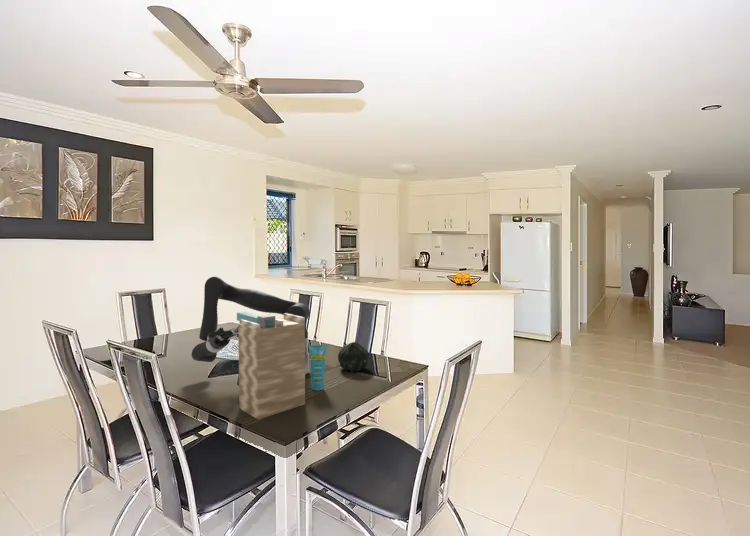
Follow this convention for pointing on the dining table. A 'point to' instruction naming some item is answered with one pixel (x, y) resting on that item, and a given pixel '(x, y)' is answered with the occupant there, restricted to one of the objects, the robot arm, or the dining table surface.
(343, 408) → the dining table surface
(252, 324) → the notched wooden tower
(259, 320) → the bar
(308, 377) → the dining table surface
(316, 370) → the tube
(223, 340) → the robot arm
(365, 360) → the squash
